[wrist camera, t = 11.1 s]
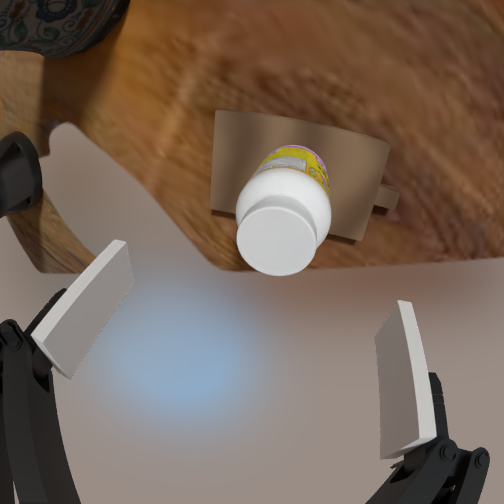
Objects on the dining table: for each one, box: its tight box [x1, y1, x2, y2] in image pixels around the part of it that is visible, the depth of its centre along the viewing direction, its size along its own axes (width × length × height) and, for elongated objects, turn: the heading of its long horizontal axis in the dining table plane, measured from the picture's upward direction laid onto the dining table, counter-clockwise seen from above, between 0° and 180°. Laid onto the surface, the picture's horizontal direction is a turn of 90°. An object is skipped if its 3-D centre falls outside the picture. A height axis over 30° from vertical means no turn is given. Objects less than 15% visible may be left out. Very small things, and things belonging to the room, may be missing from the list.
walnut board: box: [210, 109, 400, 241], centre depth 27 cm, size 19×11×2 cm, turn 83°
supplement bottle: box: [236, 145, 331, 276], centre depth 21 cm, size 7×7×13 cm
